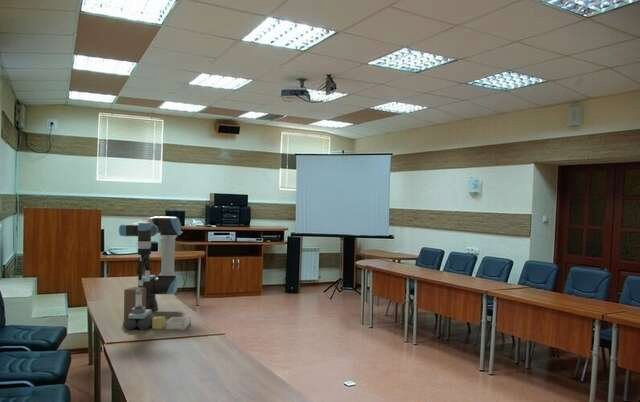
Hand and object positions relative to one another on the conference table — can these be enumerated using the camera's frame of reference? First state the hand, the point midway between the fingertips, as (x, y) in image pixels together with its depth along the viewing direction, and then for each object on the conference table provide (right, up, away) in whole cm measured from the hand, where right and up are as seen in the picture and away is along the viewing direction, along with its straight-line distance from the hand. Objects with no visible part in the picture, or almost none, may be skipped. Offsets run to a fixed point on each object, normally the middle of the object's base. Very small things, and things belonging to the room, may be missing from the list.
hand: (143, 283), depth 285 cm
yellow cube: (+9, -27, 0) cm, 28 cm away
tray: (+20, -27, +3) cm, 33 cm away
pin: (-3, -17, 0) cm, 18 cm away
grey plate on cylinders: (-2, -26, 0) cm, 26 cm away
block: (-12, -26, +17) cm, 33 cm away
